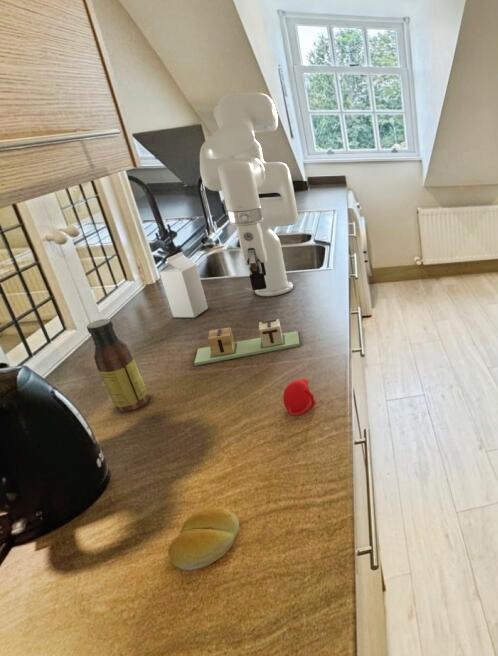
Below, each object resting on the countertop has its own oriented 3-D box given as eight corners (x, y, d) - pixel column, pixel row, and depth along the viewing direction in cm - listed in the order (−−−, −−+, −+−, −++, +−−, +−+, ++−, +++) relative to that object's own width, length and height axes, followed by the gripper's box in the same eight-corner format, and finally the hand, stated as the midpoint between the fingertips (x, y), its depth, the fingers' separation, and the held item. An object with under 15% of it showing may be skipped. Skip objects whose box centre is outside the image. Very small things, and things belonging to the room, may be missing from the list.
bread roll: (160, 574, 61) (151, 553, 59) (196, 518, 69) (189, 499, 67) (220, 574, 60) (212, 553, 59) (249, 518, 69) (243, 498, 67)
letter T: (262, 339, 122) (259, 321, 120) (282, 335, 123) (278, 318, 121) (262, 347, 117) (258, 329, 115) (282, 343, 119) (279, 326, 117)
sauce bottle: (140, 393, 101) (111, 312, 93) (155, 401, 98) (127, 318, 90) (108, 409, 96) (74, 325, 88) (123, 417, 93) (90, 331, 85)
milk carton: (208, 308, 145) (193, 251, 137) (194, 318, 138) (178, 258, 131) (187, 308, 146) (171, 251, 138) (173, 317, 139) (155, 258, 132)
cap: (316, 417, 91) (312, 392, 89) (285, 423, 90) (280, 398, 87) (315, 395, 98) (311, 371, 96) (287, 400, 97) (281, 376, 94)
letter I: (214, 347, 118) (209, 330, 116) (234, 344, 120) (230, 326, 118) (212, 356, 114) (207, 338, 112) (233, 352, 115) (229, 334, 113)
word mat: (198, 351, 119) (198, 348, 118) (297, 333, 126) (297, 330, 126) (194, 365, 112) (193, 362, 111) (299, 346, 119) (299, 343, 119)
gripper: (262, 222, 102) (276, 292, 109) (262, 207, 116) (274, 269, 123) (226, 226, 99) (242, 297, 106) (230, 210, 114) (245, 273, 121)
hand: (259, 282), depth 115 cm, fingers open, 9 cm apart
